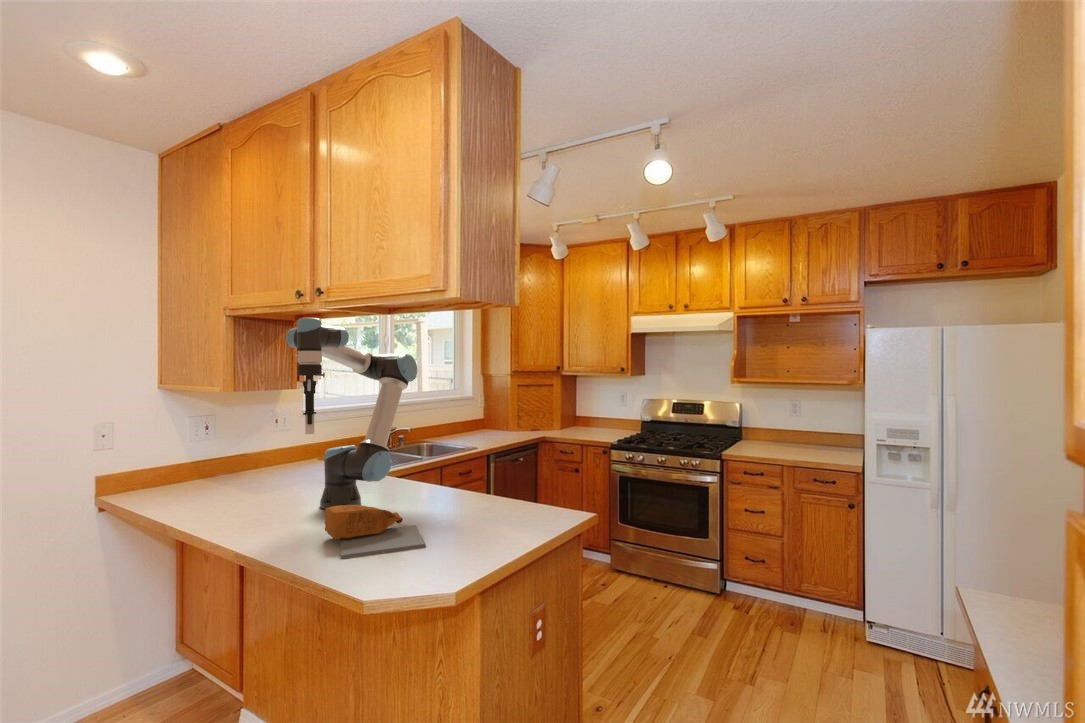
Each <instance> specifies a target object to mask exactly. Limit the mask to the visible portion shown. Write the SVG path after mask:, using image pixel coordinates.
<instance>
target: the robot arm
mask: <svg viewBox="0 0 1085 723" xmlns="http://www.w3.org/2000/svg"><path fill="white" fill-rule="evenodd" d="M349 338H350V335H349V332H348V330H347V329H346V328H344V327H341V326H338V325H337V326H334V325H323V323H322V320H321V319H320V318H318V317H301V318H298V319H297V324H296V327H294V328H293V327H292V328H291V329H289V330H288V331H287V333H286V337H285V340H286V343H287V345H288V346H289V347H290V348H292V349H293V348H294V349H296V350H297V352H296V354H295V355H294V357H296V358H297V363H298V365H296V368H297V371H296V374H297V376H301V377H302V376H303V377H304V376H305V380H302V387H303V394H304V399H305V401H304V402H305V403H304V404H305V408H304V412H303V413H302V414H303V416H305V419H304V420H305V421H304V422H305V425H304V426H305V429H304V431H305V432H304V433H305V434H304V435H315V414H317V411H315V394H316V386H317V380H314V379H315V378H314V377H315V376H322V373H323V372H322V370H323V369H322V364H321V363H322V362H323V358H326V359H328V360H330V361H332V362H335V363H338V364H341V365H343V366H346V367H348V368H350V369H352V371H353V372H354V373H355V374H358V375H361V376H364V377H366V378H368V379H371V380H375V381H378V382H379V383H380V384H381V386H380V388H379V392H378V395H377V396H378V397H377V399H376V403H375V406H374V410H373V412H372V415H371V418H370V422H369V424H368V428H367V432H366V434H365V438H364V440H362V441H360V442H359V444H358V446H356V445H355V444H352V445H351V444H350V445H342V446H337V447H335V446H334V447H331V448H327V449H326V450H325V452H324V460H323V461H324V463H323V465H324V489H323V491H322V495H321V498H320V500H319V506H320V507H319V508H320V509H322V508H323V510H326V508H329V507H333V506H339V505H361V503H362V496H361V494H360V491H359V489H358V488H359V487H358V485H357V481H360V482H361V481H362V482H364V481H365V482H367V483H368V482H369V483H371V482H380V481H381V480H383V479H385V478H386V476H388V474H389V472H390V471H391V468H392V463H393V461H392V456H391V454H390V453H389V452H390V449H389V447H388V440H389V438H390V435H391V434H390V433H391V430H392V427H393V424H394V420H395V416H396V413H397V411H398V408H399V407H398V406H399V404H400V401H401V400H400V399H401V396H402V393H403V391H404V390H406V389H407V388H408V385H409V383H410V382H413V381H415V379H416V378H417V376H418V365H417V361H416V360H415V358H414V357H413V356H412V355H411V354H409V353H403V352H400V353H369V352H367V351H364V350H363V351H359V350H357V349H355V348H352V347H351V346H348V345H347V344H348V342H349V340H350V339H349Z"/></svg>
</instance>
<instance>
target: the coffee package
mask: <svg viewBox="0 0 1085 723" xmlns="http://www.w3.org/2000/svg"><path fill="white" fill-rule="evenodd" d="M324 510H325V513H324V514H325V516H324V518H325V519H324V530H325V532H326V533H327V534H328V535H329V536H330V537H331V538H332V539H333V540H334V539H340V538H353V537H358V536H365V535H371V534H377V533H380V532H382V531H383V530H385V529H387V528H390V526H392V525H393V524H395V523H397V524H401V523H402V522H403V520H404V519H403V517H401V515H400V514H399V513H398V512H391V511H390V510H386V509H382V508H378V507H374V506H365V505H361V504H359V505H339V506H333V507H329V508H326V509H324Z"/></svg>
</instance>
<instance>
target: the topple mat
mask: <svg viewBox="0 0 1085 723" xmlns="http://www.w3.org/2000/svg"><path fill="white" fill-rule="evenodd" d="M426 544H427V543H426V542H425V540H424V538H423V536H422V535H421V533H420V530H419V529H418V526H417V525H416V524H413V525H407V526H406V525H405V526H397V527H388V528H386V529H385V530H383V531H382V532H380V533H377V534H371V535H365V536H358V537H353V538H339V549H340V550H339V551H340V552H339V553H340V559H349V558H355V557H364V556H371V555H376V554H377V555H378V554H384V553H391V552H399V551H405V550H406V551H407V550H413V549H415V550H416V549H419V548H420V549H421V548H426V546H427V545H426Z"/></svg>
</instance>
